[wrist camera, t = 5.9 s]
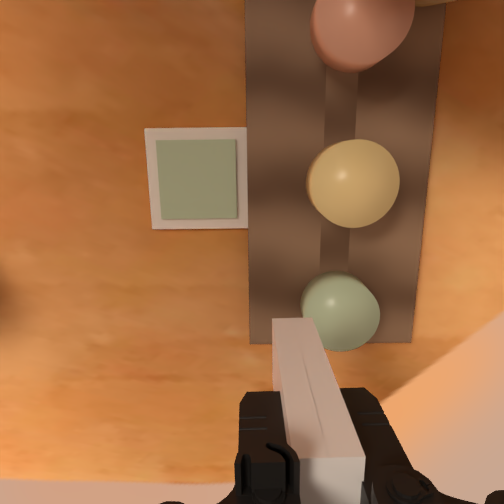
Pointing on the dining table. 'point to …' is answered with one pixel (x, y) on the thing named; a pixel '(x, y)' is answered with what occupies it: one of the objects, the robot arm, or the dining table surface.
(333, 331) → the button green
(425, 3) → the potted plant
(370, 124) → the board
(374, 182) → the button ochre
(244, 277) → the dining table surface
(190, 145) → the swatch
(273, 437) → the robot arm
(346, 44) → the button terracotta
